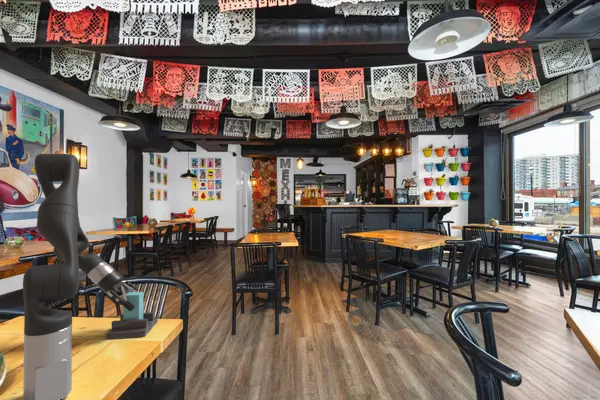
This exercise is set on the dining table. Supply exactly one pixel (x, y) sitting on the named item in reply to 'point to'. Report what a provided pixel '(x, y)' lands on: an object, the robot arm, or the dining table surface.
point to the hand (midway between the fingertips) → (137, 305)
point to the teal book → (137, 301)
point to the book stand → (132, 327)
